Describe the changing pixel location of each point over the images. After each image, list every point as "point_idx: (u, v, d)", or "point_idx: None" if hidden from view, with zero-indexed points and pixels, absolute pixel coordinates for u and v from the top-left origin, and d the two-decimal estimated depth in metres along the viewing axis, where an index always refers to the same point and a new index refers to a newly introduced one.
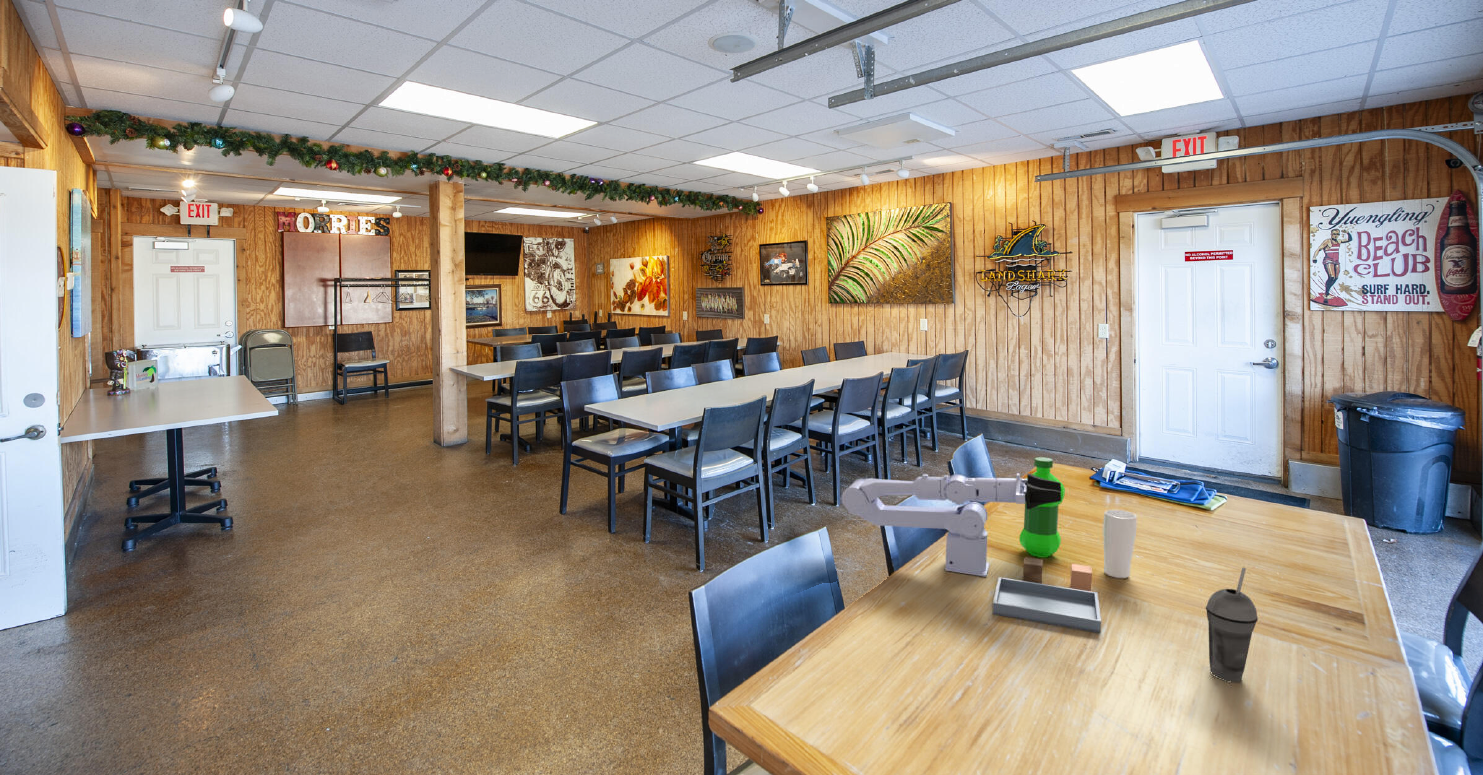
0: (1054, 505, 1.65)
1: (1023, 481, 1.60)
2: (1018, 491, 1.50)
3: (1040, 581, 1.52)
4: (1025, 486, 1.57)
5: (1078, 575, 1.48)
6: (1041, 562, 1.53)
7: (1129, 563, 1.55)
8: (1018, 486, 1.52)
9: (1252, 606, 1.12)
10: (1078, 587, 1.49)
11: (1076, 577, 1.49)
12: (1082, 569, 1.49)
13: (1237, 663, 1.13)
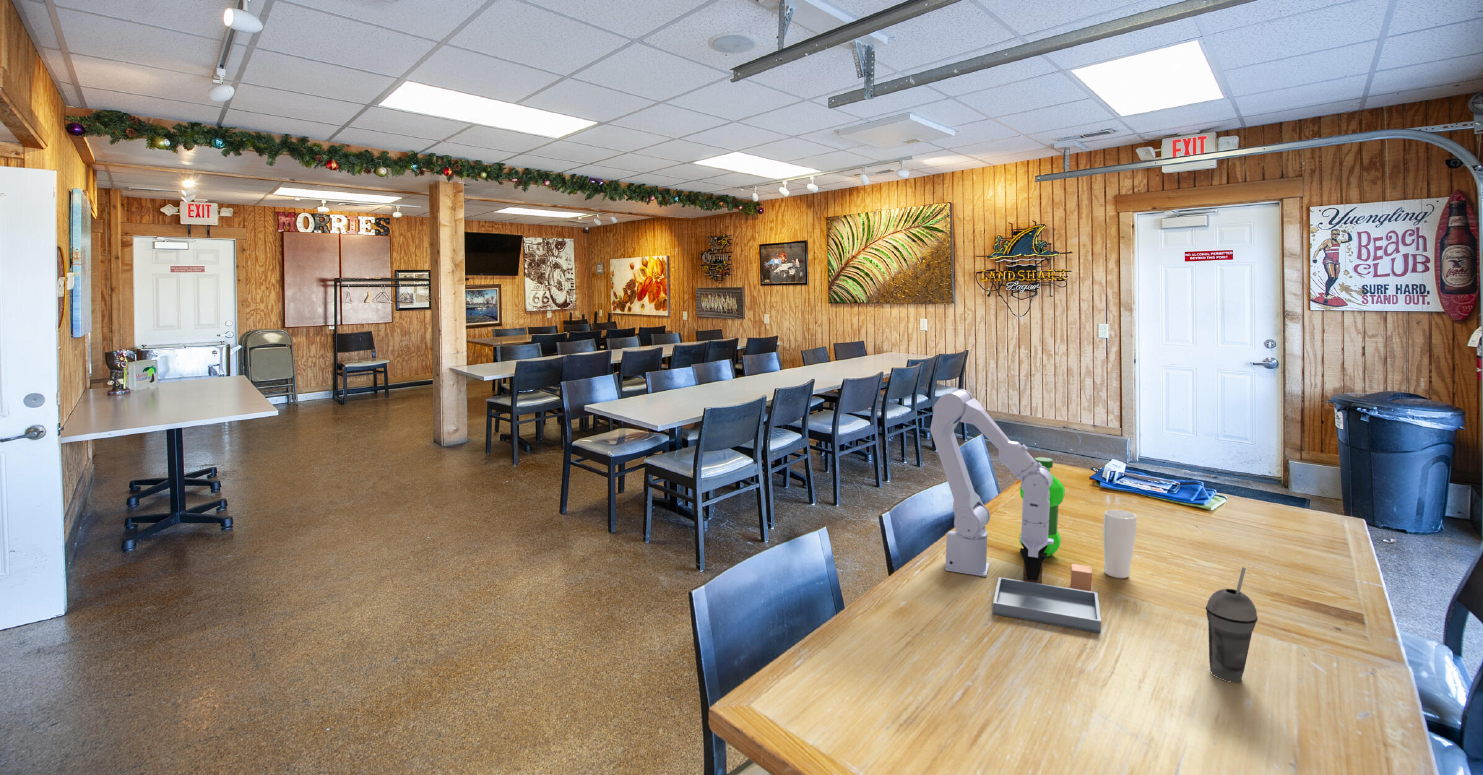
0: (1054, 505, 1.65)
1: None
2: (1039, 549, 1.48)
3: (1040, 581, 1.52)
4: None
5: (1078, 575, 1.48)
6: None
7: (1129, 563, 1.55)
8: (1043, 546, 1.49)
9: (1252, 606, 1.12)
10: (1078, 587, 1.49)
11: (1076, 577, 1.49)
12: (1082, 569, 1.49)
13: (1237, 663, 1.13)
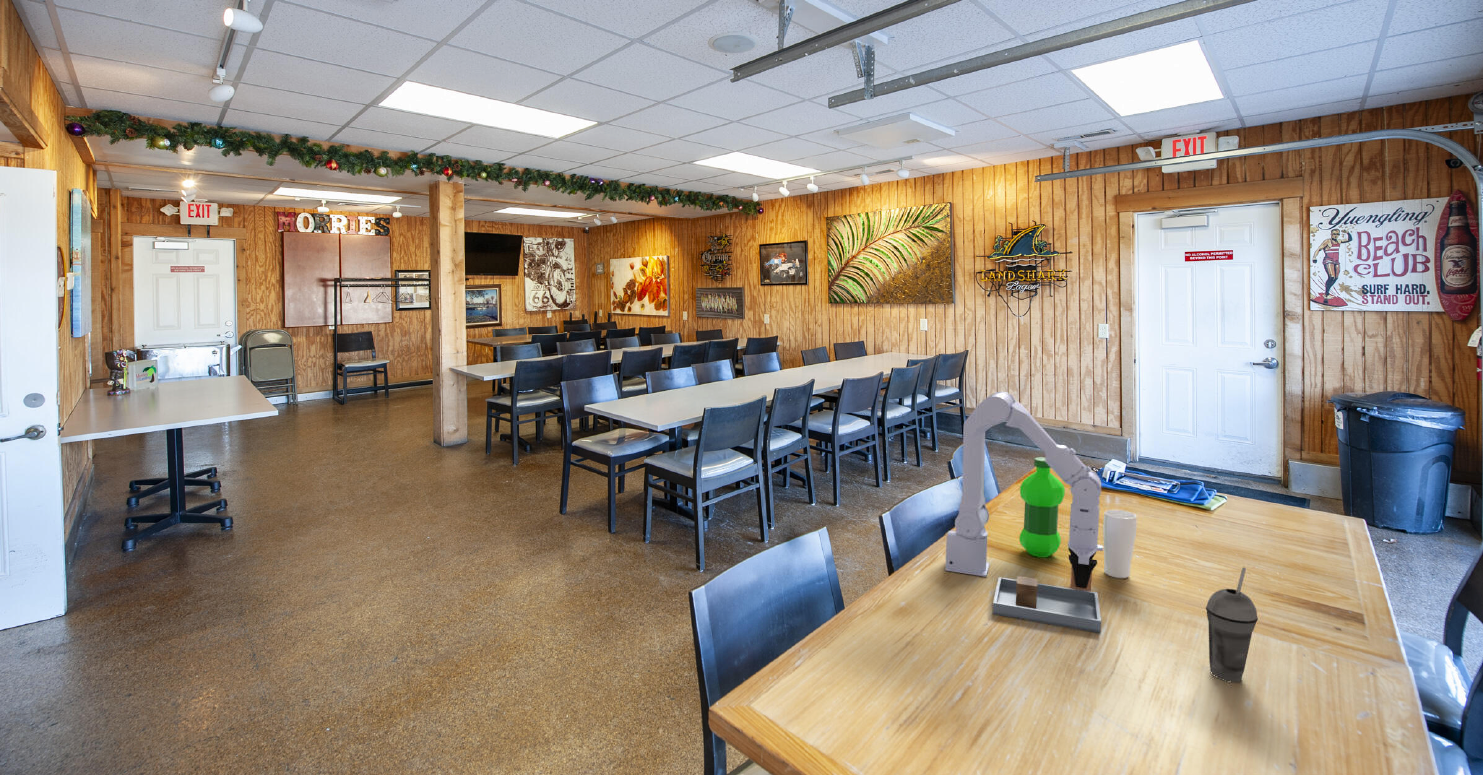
0: (1054, 505, 1.65)
1: None
2: (1090, 555, 1.44)
3: (1034, 603, 1.40)
4: None
5: None
6: (1036, 582, 1.42)
7: (1129, 563, 1.55)
8: (1093, 553, 1.45)
9: (1252, 606, 1.12)
10: (1078, 587, 1.49)
11: None
12: None
13: (1237, 663, 1.13)
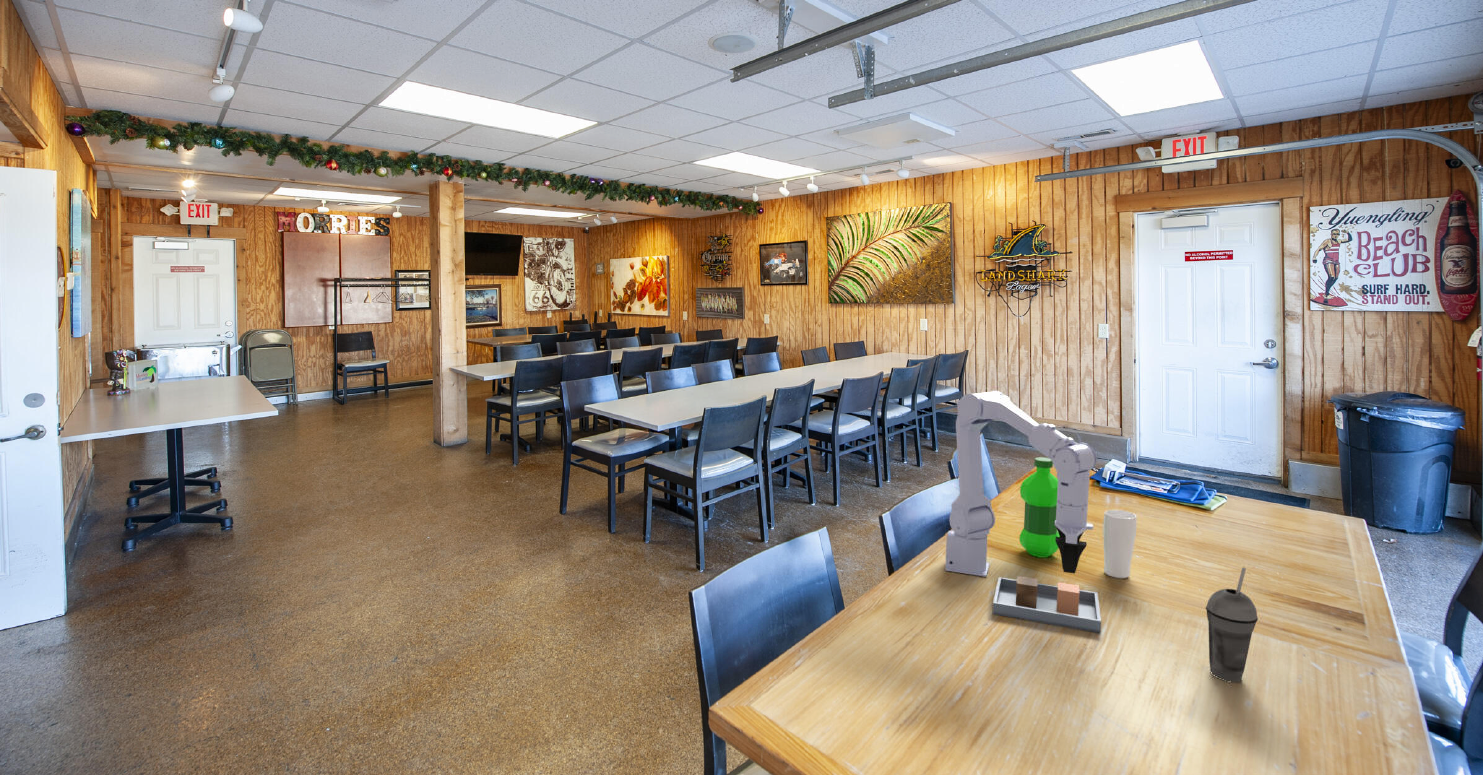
0: (1054, 505, 1.65)
1: None
2: (1078, 534, 1.32)
3: (1034, 603, 1.40)
4: None
5: (1064, 595, 1.38)
6: (1036, 582, 1.42)
7: (1129, 563, 1.55)
8: (1081, 532, 1.33)
9: (1252, 606, 1.12)
10: (1065, 608, 1.38)
11: (1063, 597, 1.38)
12: (1069, 588, 1.38)
13: (1237, 663, 1.13)
